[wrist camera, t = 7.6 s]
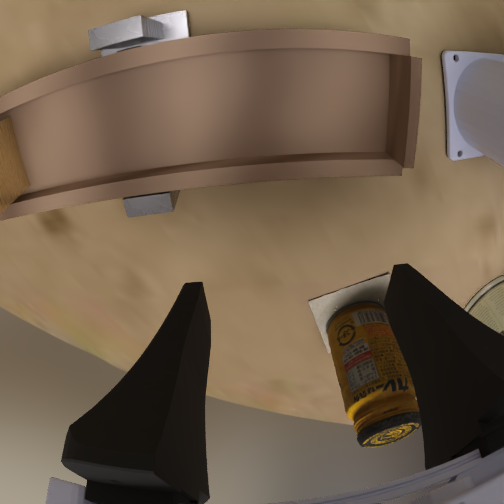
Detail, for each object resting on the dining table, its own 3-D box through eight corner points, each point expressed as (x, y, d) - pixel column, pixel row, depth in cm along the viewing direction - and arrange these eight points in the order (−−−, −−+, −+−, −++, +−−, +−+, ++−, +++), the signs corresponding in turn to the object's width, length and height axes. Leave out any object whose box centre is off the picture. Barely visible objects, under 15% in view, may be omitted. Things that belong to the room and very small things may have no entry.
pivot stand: (187, 11, 13) (170, -3, 9) (208, 176, 20) (201, 217, 15) (103, 31, 13) (61, 30, 9) (133, 186, 20) (108, 228, 15)
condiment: (328, 352, 31) (353, 459, 22) (307, 299, 27) (339, 432, 17) (393, 328, 30) (433, 430, 20) (388, 271, 25) (447, 392, 16)
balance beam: (379, 34, 12) (421, 35, 9) (376, 156, 16) (410, 188, 13) (-30, 113, 12) (-73, 136, 9) (-2, 204, 16) (-36, 239, 13)
